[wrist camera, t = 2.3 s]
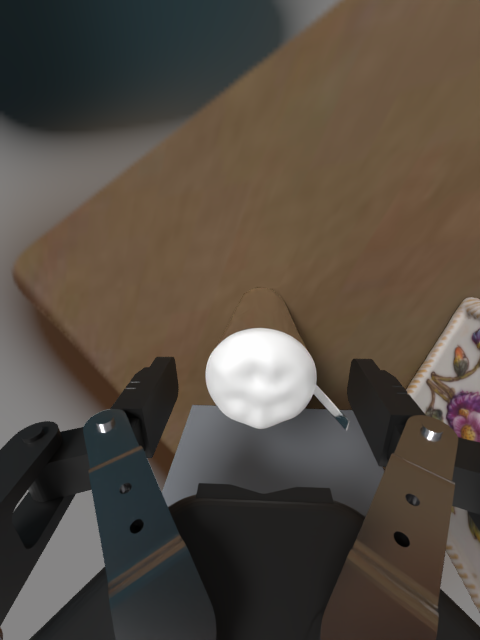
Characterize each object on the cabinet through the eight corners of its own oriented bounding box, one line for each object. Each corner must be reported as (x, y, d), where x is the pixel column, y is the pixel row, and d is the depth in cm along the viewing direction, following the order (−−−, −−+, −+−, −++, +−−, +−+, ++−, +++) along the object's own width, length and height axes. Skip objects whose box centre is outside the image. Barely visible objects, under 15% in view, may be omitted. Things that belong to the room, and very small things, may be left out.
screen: (356, 410, 21) (416, 541, 13) (353, 429, 22) (407, 565, 14) (192, 405, 22) (151, 523, 14) (194, 424, 23) (156, 546, 15)
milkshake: (298, 345, 19) (331, 472, 10) (224, 334, 20) (191, 450, 10) (314, 284, 18) (370, 372, 8) (232, 272, 18) (199, 346, 9)
